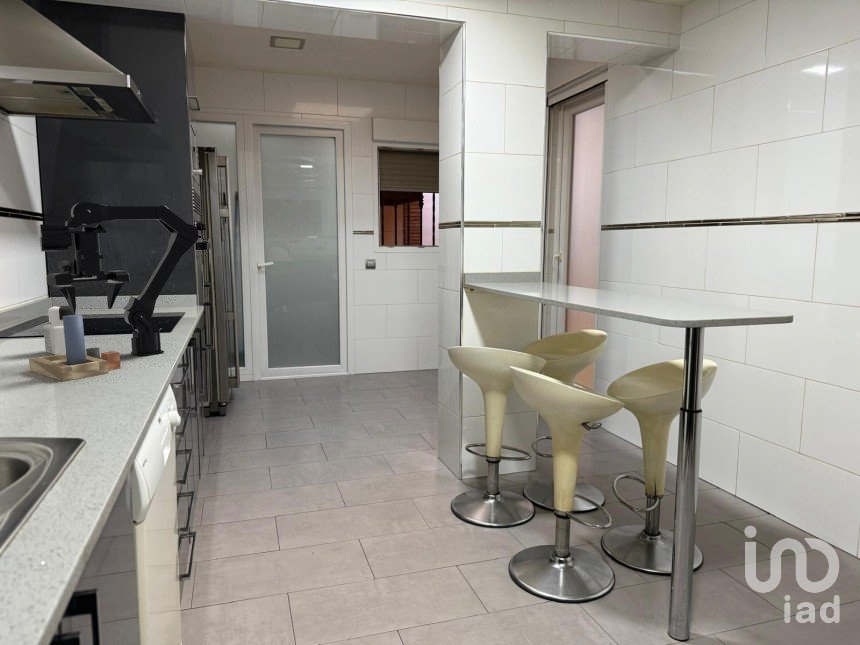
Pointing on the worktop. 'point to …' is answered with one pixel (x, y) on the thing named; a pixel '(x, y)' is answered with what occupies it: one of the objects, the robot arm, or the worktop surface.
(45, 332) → the container
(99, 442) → the worktop surface
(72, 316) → the blue-grey cylinder
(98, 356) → the socket board
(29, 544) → the worktop surface
